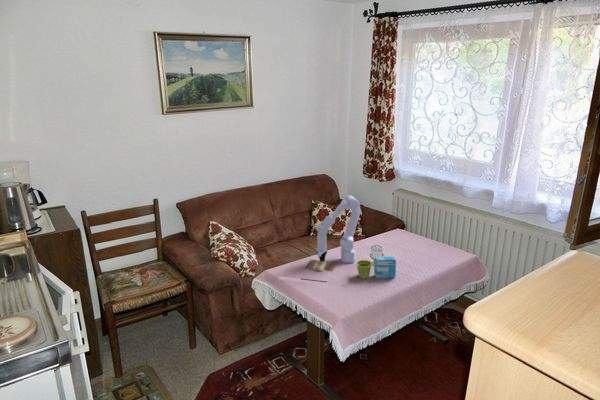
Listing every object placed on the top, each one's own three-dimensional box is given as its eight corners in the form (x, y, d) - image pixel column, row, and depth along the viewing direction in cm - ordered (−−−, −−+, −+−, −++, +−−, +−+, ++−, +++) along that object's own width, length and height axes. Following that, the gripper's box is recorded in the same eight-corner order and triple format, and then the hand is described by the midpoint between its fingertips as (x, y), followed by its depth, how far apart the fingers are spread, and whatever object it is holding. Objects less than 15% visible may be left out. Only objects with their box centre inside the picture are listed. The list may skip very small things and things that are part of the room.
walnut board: (337, 264, 266) (337, 262, 266) (332, 273, 254) (332, 271, 254) (310, 261, 271) (310, 259, 271) (304, 270, 260) (304, 268, 259)
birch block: (326, 264, 263) (326, 261, 263) (322, 271, 254) (322, 268, 253) (317, 263, 265) (317, 260, 264) (313, 270, 256) (313, 267, 255)
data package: (375, 278, 246) (375, 260, 243) (374, 274, 251) (374, 256, 247) (395, 277, 246) (396, 259, 243) (393, 274, 250) (394, 256, 247)
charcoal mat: (331, 273, 255) (331, 272, 254) (326, 282, 244) (326, 281, 243) (306, 270, 259) (306, 269, 259) (300, 279, 248) (300, 278, 248)
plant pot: (370, 281, 243) (370, 267, 241) (354, 279, 247) (354, 265, 244) (373, 274, 252) (373, 261, 249) (357, 272, 255) (358, 259, 252)
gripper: (318, 237, 269) (319, 257, 273) (312, 246, 256) (313, 266, 259) (329, 238, 267) (329, 258, 271) (323, 247, 253) (324, 267, 257)
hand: (322, 262), depth 265 cm, fingers closed
